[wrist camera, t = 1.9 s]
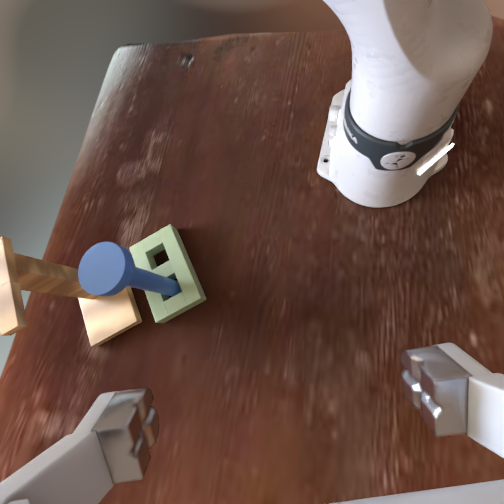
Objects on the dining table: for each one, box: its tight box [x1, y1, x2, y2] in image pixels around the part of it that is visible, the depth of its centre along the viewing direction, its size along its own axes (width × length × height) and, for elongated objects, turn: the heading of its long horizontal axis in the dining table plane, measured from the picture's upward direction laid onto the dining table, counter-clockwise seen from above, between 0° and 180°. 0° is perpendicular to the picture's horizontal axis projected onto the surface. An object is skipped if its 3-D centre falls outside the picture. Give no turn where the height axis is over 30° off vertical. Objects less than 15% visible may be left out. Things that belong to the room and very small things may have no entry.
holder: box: [130, 225, 207, 323], centre depth 48 cm, size 8×14×2 cm, turn 27°
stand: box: [0, 236, 142, 346], centre depth 40 cm, size 11×9×21 cm
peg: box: [78, 242, 182, 297], centre depth 40 cm, size 6×6×18 cm
